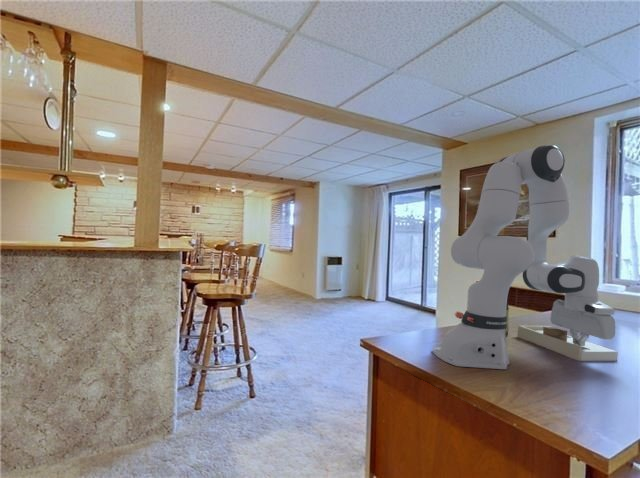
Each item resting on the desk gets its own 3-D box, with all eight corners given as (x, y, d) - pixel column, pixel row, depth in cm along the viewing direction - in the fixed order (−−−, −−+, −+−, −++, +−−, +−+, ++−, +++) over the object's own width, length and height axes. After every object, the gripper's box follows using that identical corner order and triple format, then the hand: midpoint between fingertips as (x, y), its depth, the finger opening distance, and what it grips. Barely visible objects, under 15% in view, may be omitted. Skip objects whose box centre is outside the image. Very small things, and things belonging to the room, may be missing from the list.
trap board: (578, 360, 105) (579, 347, 105) (517, 336, 131) (518, 325, 131) (617, 360, 108) (617, 347, 108) (549, 336, 133) (550, 326, 133)
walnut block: (554, 341, 115) (555, 330, 115) (542, 337, 120) (543, 326, 120) (566, 341, 116) (567, 330, 116) (554, 337, 121) (555, 326, 121)
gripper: (546, 298, 120) (544, 335, 120) (603, 310, 100) (600, 355, 100) (561, 298, 121) (559, 335, 121) (620, 310, 101) (618, 355, 101)
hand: (578, 344), depth 110 cm, fingers closed
